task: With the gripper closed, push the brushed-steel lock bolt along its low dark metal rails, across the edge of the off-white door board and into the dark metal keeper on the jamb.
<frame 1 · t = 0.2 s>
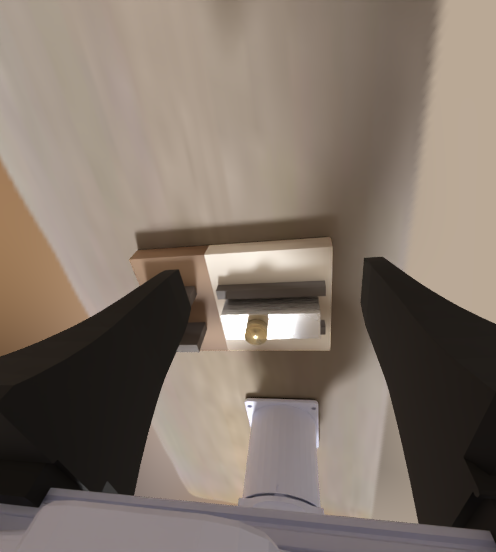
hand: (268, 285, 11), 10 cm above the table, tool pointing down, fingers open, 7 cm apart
door and jamb: (221, 297, 25), on the table
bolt: (271, 321, 21), point 3 cm above the table, slide at 0.0 cm
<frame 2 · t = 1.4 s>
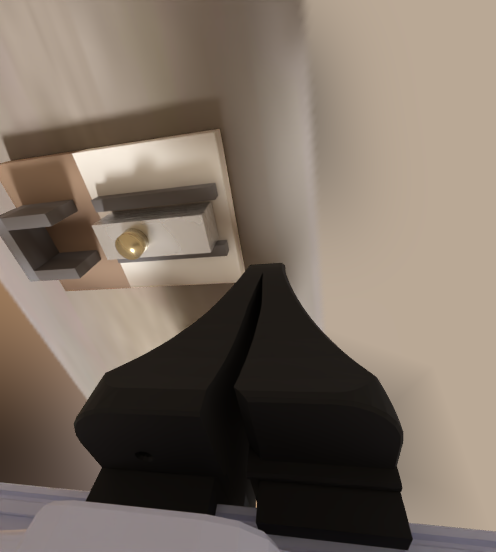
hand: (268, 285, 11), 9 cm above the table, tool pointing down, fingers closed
door and jamb: (116, 221, 21), on the table
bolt: (155, 234, 18), point 3 cm above the table, slide at 0.0 cm
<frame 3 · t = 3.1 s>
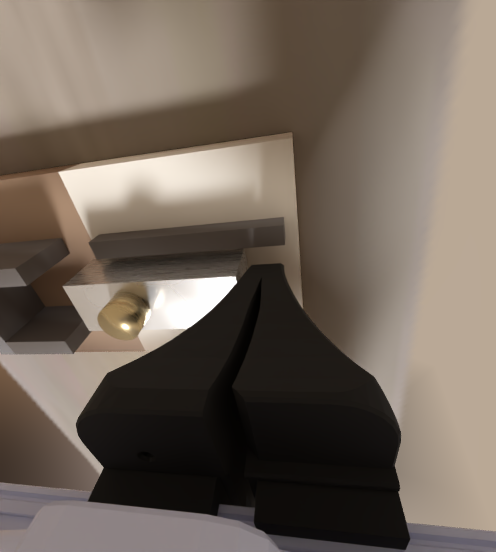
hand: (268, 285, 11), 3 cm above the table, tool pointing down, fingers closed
door and jamb: (125, 262, 15), on the table
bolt: (159, 297, 12), point 3 cm above the table, slide at 1.2 cm, touching gripper
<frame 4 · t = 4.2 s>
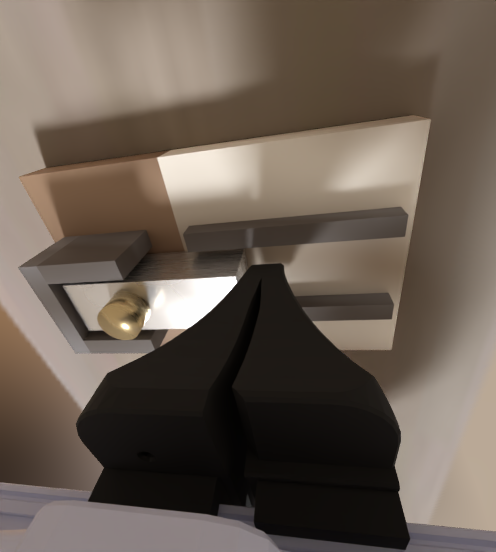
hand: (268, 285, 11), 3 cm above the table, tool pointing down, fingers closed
door and jamb: (200, 257, 14), on the table
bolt: (159, 297, 12), point 3 cm above the table, slide at 5.4 cm, touching gripper
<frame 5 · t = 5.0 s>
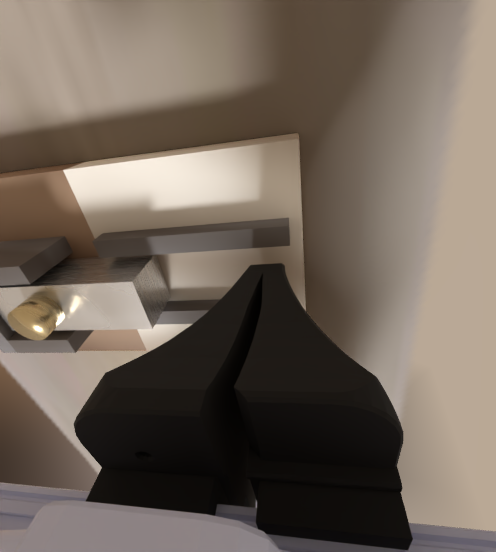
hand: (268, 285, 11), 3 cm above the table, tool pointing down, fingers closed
door and jamb: (127, 261, 15), on the table
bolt: (75, 300, 12), point 3 cm above the table, slide at 5.4 cm
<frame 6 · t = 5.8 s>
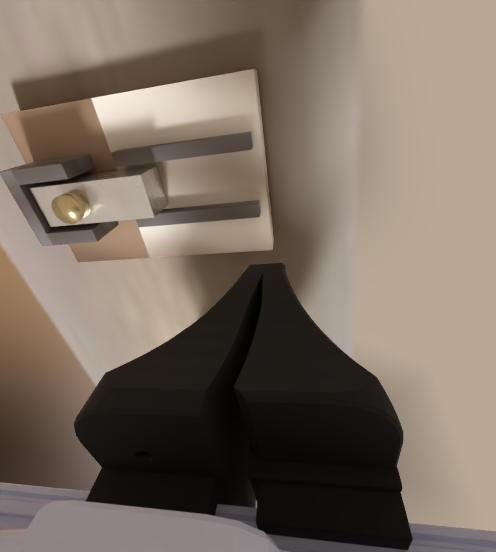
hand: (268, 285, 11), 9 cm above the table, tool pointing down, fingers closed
door and jamb: (135, 182, 20), on the table
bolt: (97, 199, 17), point 3 cm above the table, slide at 5.4 cm
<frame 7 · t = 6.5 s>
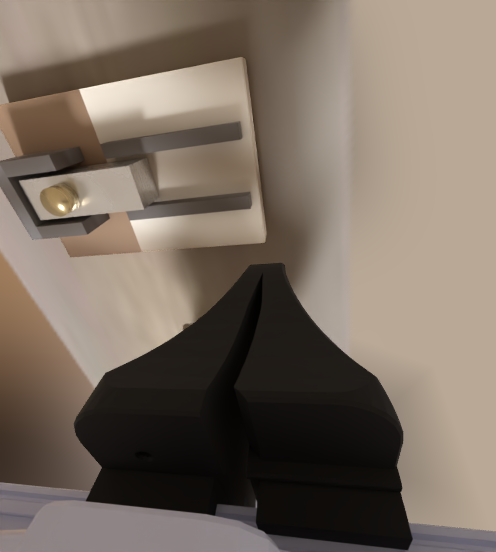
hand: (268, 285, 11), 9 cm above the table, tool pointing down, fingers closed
door and jamb: (126, 176, 19), on the table
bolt: (87, 192, 17), point 3 cm above the table, slide at 5.4 cm
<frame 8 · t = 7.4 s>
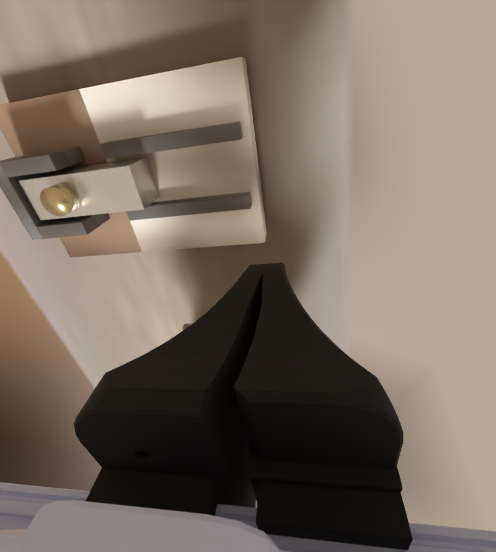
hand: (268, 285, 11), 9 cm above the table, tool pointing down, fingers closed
door and jamb: (126, 176, 19), on the table
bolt: (87, 192, 17), point 3 cm above the table, slide at 5.4 cm
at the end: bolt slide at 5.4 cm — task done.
